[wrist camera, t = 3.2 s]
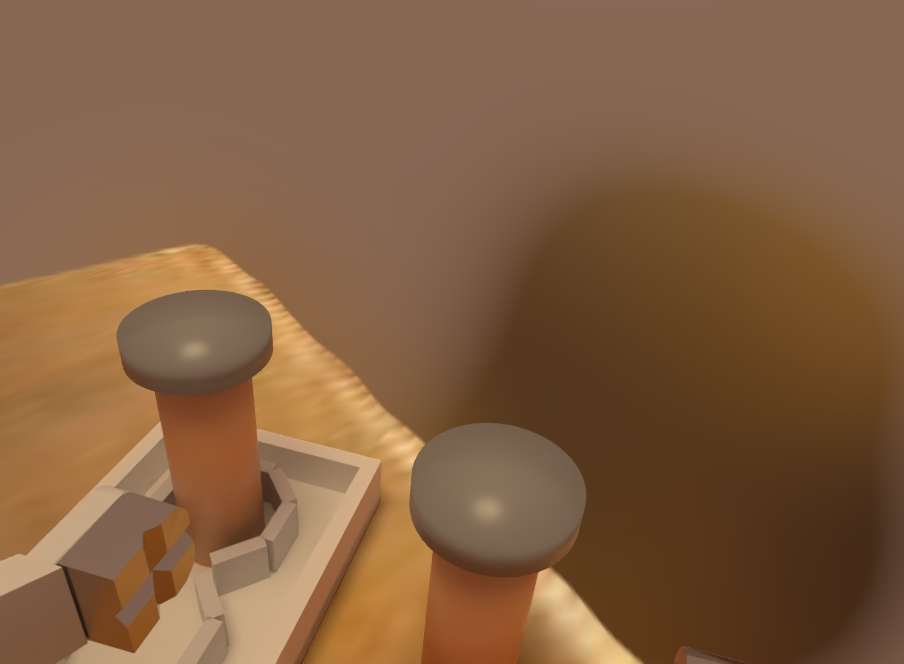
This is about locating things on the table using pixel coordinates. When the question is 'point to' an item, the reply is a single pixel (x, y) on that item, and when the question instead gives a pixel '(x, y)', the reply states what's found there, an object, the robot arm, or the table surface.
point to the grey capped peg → (205, 405)
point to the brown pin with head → (490, 535)
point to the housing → (256, 557)
